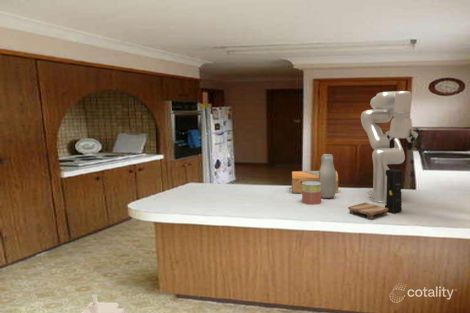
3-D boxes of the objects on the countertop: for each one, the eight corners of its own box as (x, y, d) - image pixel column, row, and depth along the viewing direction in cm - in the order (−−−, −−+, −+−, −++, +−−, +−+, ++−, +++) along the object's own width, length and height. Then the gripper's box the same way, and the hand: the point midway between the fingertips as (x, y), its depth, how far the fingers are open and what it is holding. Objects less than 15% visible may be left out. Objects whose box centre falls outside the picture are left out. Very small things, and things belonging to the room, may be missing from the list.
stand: (348, 213, 177) (348, 206, 177) (365, 208, 185) (365, 202, 184) (371, 220, 165) (371, 213, 165) (388, 214, 173) (388, 208, 172)
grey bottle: (330, 195, 215) (330, 152, 211) (338, 199, 205) (338, 154, 201) (316, 196, 213) (316, 153, 209) (323, 200, 203) (323, 155, 199)
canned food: (314, 199, 207) (314, 180, 205) (325, 204, 196) (325, 184, 195) (298, 201, 204) (298, 182, 202) (308, 206, 193) (308, 186, 191)
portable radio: (393, 214, 173) (395, 167, 170) (383, 211, 179) (384, 165, 175) (402, 211, 178) (404, 165, 174) (391, 208, 183) (393, 164, 179)
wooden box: (334, 188, 234) (335, 168, 232) (338, 194, 218) (338, 173, 216) (291, 188, 239) (291, 169, 237) (292, 194, 223) (292, 173, 221)
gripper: (382, 115, 175) (381, 148, 178) (414, 116, 160) (412, 151, 163) (391, 115, 179) (389, 146, 181) (423, 115, 164) (421, 149, 167)
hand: (400, 149), depth 172 cm, fingers open, 9 cm apart
